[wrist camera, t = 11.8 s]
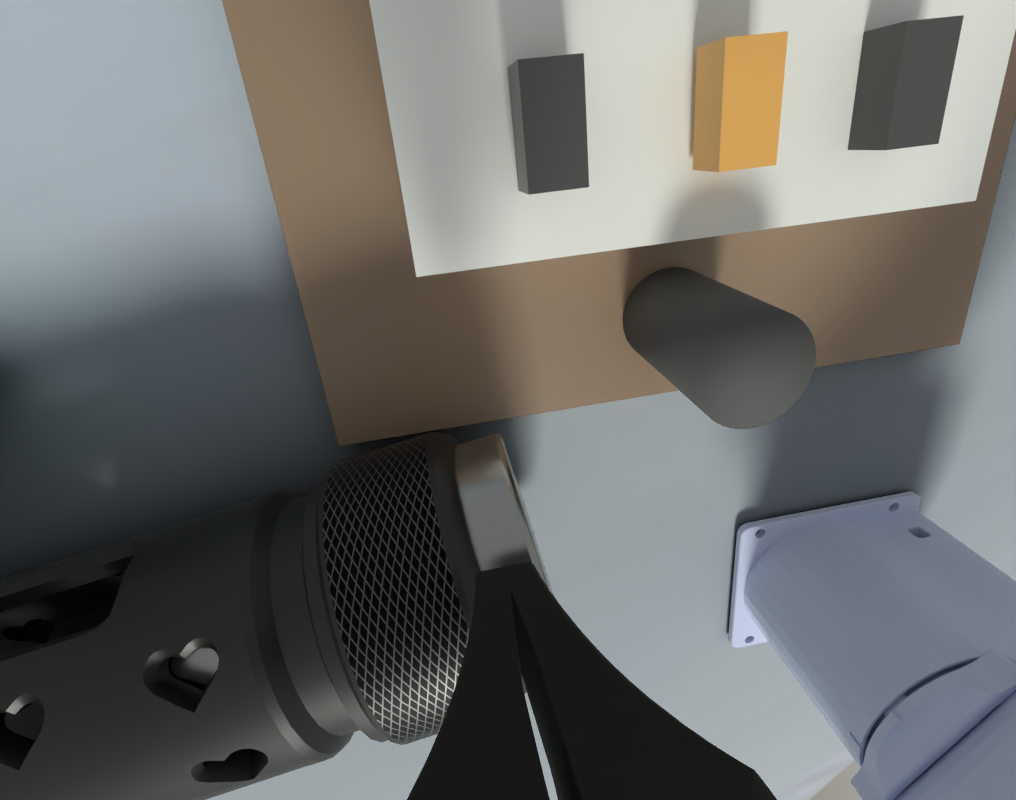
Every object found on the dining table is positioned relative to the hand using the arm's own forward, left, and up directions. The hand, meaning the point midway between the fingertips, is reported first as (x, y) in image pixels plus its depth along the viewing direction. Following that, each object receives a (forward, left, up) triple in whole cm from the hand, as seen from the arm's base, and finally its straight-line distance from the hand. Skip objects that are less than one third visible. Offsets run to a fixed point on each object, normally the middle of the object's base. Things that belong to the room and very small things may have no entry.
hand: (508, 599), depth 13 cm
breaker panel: (-8, -10, -10) cm, 16 cm away
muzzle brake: (+11, +11, -7) cm, 17 cm away
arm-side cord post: (-8, -3, -9) cm, 13 cm away
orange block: (-8, -10, -6) cm, 14 cm away
